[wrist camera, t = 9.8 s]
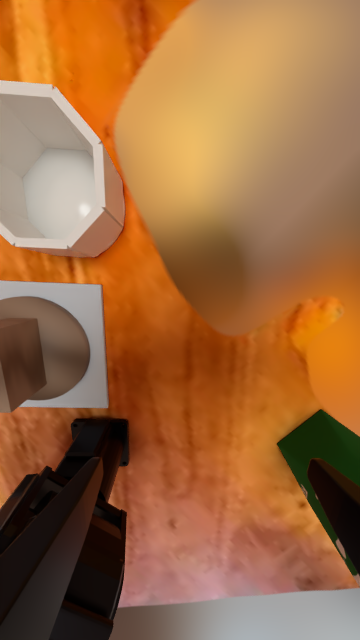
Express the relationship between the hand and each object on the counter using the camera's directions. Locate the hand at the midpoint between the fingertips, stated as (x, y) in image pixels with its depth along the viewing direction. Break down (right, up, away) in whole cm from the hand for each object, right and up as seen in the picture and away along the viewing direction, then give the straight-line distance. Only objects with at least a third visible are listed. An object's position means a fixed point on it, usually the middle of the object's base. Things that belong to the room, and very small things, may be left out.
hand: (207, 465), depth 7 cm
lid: (-16, +3, +11) cm, 20 cm away
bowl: (-11, +17, +8) cm, 22 cm away
